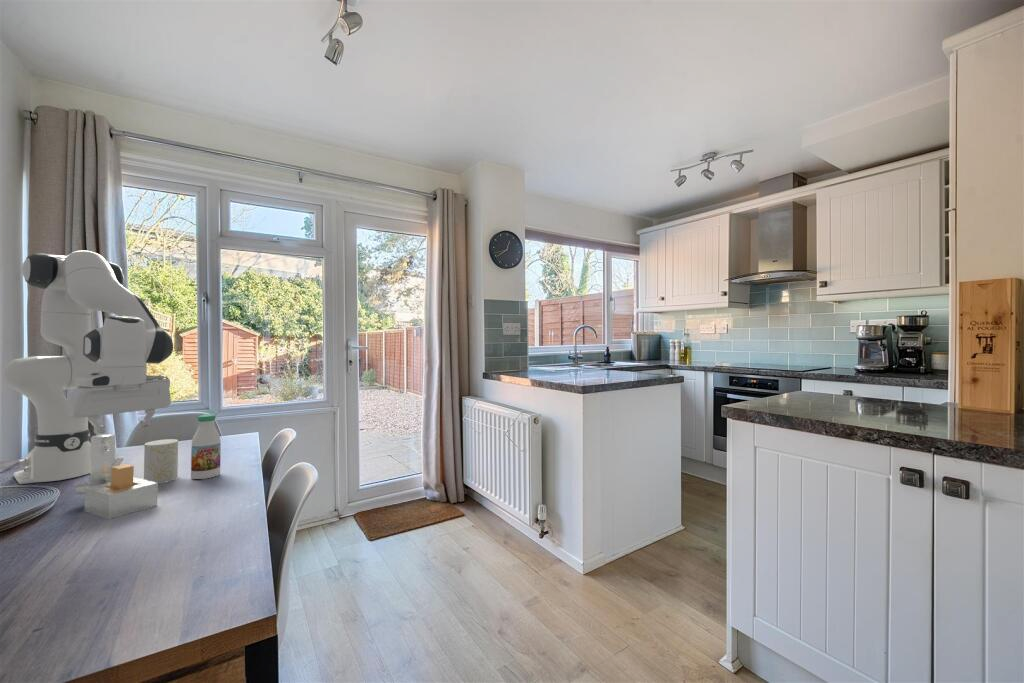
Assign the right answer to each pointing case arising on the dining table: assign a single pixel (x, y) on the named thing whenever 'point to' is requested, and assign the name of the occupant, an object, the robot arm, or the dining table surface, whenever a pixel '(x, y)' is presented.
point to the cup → (161, 460)
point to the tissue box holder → (99, 488)
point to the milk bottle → (205, 449)
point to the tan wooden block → (122, 476)
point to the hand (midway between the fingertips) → (122, 429)
